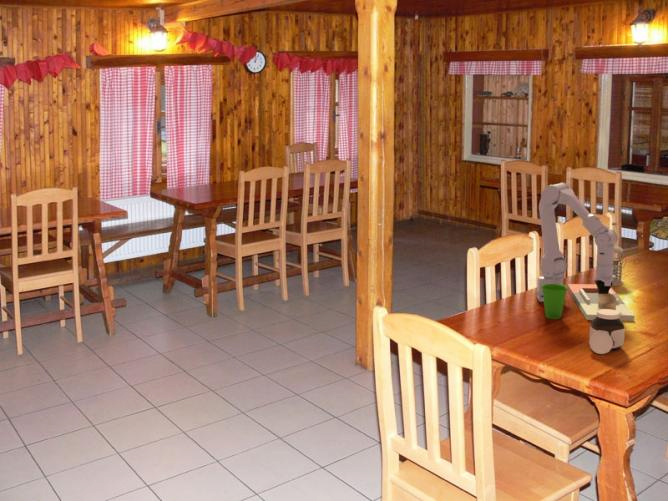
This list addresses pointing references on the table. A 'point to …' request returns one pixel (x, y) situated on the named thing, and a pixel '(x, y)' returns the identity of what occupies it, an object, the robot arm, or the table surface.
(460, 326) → the table surface
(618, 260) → the french press
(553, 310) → the cup
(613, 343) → the spread jar
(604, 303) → the maple block
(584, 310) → the chute board
